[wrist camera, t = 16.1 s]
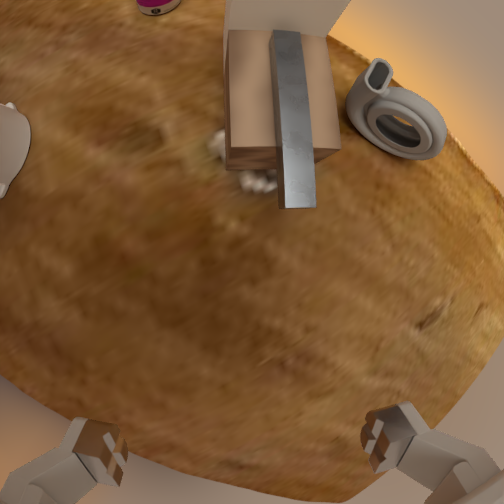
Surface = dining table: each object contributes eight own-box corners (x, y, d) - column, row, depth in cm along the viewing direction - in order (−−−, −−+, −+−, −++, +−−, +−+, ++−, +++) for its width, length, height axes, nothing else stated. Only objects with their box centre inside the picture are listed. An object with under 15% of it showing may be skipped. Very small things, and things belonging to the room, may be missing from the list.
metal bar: (278, 209, 30) (285, 207, 27) (268, 43, 27) (273, 29, 24) (306, 208, 30) (316, 207, 27) (293, 45, 28) (300, 32, 25)
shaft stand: (223, 79, 40) (240, -65, 11) (223, 33, 39) (238, -101, 10) (297, 81, 42) (379, -39, 13) (291, 36, 41) (352, -82, 12)
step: (226, 170, 42) (231, 146, 28) (223, 79, 40) (228, 29, 27) (304, 169, 44) (341, 149, 30) (297, 81, 42) (325, 37, 28)
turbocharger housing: (412, 146, 46) (467, 128, 31) (400, 173, 46) (458, 161, 31) (339, 89, 43) (381, 49, 28) (324, 115, 43) (366, 78, 28)
